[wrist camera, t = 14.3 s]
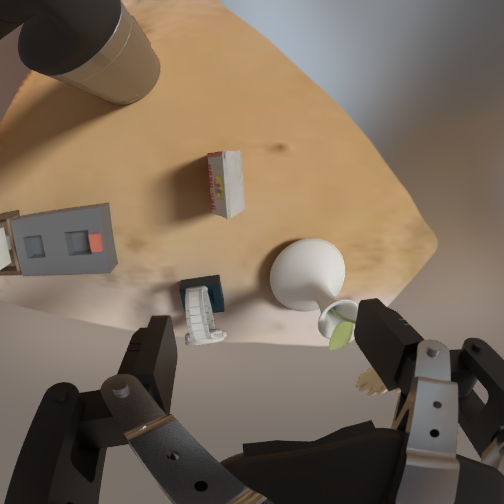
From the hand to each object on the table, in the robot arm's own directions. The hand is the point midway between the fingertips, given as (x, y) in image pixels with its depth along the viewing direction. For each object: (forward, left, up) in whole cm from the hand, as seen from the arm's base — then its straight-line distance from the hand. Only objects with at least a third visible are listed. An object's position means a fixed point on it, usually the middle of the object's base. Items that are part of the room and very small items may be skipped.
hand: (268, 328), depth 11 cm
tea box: (-4, -1, -28) cm, 29 cm away
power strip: (+2, -26, -28) cm, 38 cm away
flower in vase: (+10, +11, -28) cm, 32 cm away
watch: (+12, -5, -28) cm, 31 cm away
